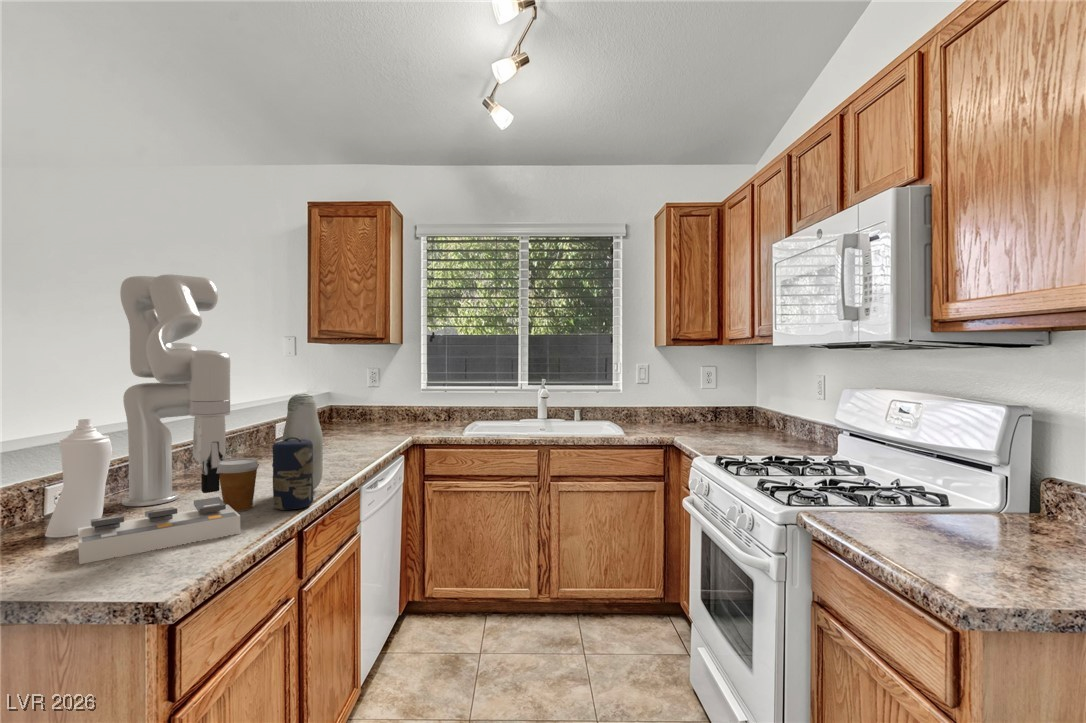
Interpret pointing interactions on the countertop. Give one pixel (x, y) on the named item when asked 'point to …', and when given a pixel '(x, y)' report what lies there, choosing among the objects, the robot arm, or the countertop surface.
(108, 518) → the plate
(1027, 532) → the countertop surface
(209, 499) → the rocker
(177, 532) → the switch unit
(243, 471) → the disposable coffee cup
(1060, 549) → the countertop surface
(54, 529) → the white bottle
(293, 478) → the canister
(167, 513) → the rocker middle
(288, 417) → the grey bottle
